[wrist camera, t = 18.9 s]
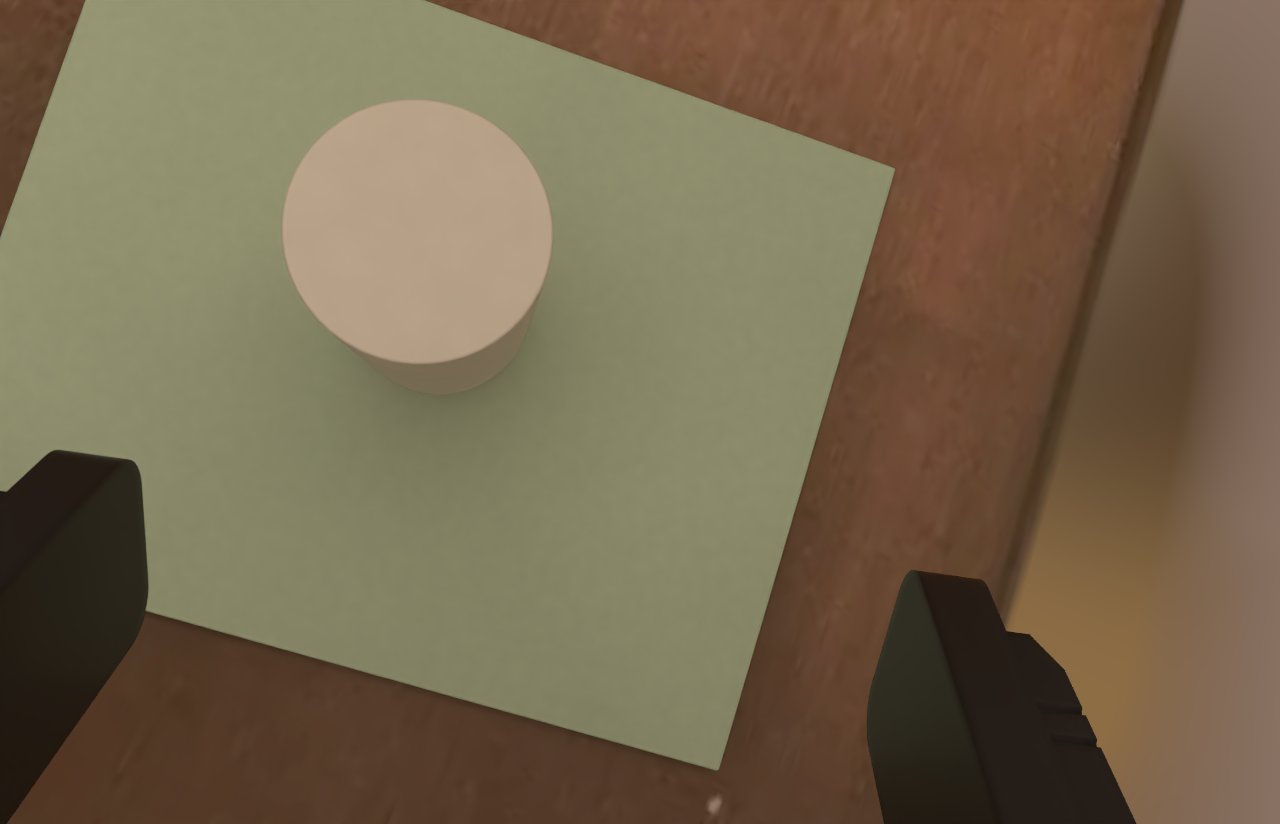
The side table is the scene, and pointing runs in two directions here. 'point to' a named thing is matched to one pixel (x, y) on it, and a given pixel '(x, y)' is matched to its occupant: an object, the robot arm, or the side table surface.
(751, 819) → the side table surface
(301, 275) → the cylinder
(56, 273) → the mat
